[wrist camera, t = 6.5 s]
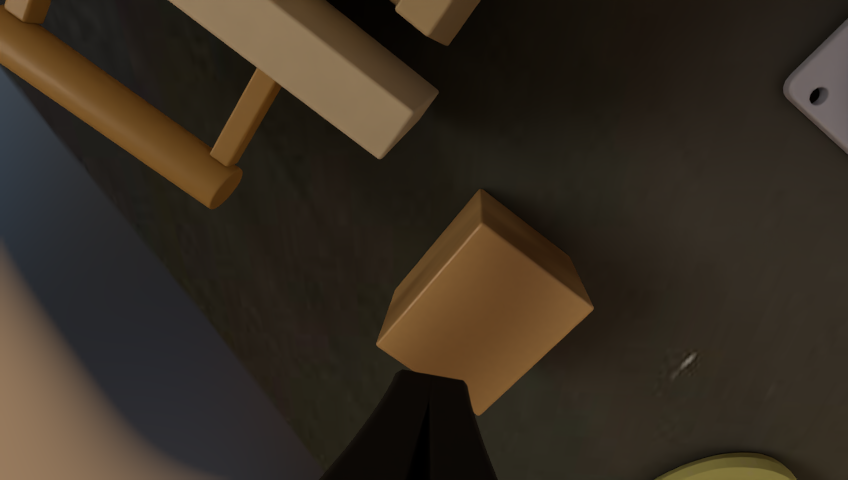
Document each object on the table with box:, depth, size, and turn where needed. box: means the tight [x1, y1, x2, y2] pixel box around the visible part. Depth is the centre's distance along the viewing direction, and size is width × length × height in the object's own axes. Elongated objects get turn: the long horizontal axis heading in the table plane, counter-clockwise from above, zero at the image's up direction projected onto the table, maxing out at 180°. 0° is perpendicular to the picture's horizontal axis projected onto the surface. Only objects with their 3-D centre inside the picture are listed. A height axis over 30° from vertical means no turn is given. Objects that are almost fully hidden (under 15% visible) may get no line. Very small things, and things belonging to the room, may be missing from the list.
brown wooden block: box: [376, 189, 594, 415], centre depth 16 cm, size 4×6×4 cm
